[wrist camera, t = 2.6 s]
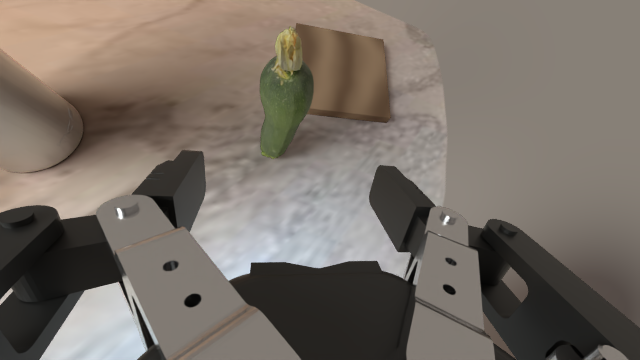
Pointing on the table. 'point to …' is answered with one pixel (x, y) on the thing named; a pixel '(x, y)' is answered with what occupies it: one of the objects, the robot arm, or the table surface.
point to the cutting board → (346, 74)
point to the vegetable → (284, 94)
